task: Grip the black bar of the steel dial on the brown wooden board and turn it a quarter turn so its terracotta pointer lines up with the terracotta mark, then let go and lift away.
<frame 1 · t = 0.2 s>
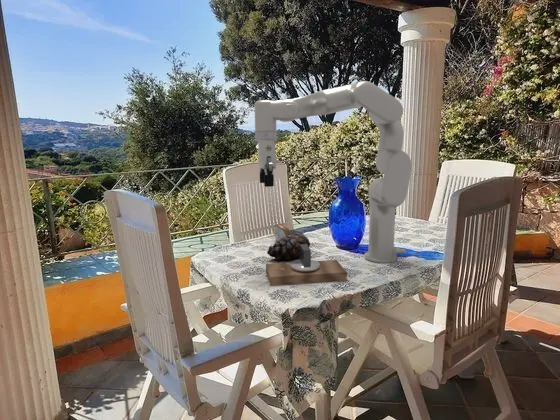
hand: (266, 184, 146), 31 cm above the table, tool pointing down, fingers open, 9 cm apart
brown wooden board: (305, 276, 141), on the table
pine cone: (289, 259, 160), on the table
dial knob: (304, 256, 141), point 7 cm above the table, hinge at -90.0°
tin: (282, 244, 180), on the table
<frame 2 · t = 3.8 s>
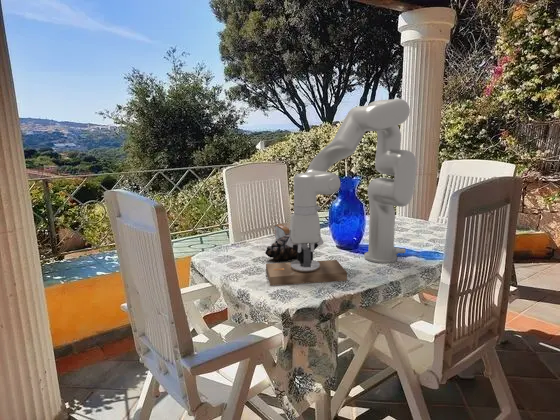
hand: (305, 261, 140), 5 cm above the table, tool pointing down, fingers closed on dial knob, 2 cm apart
dial knob: (304, 256, 141), point 7 cm above the table, hinge at -90.0°, touching gripper
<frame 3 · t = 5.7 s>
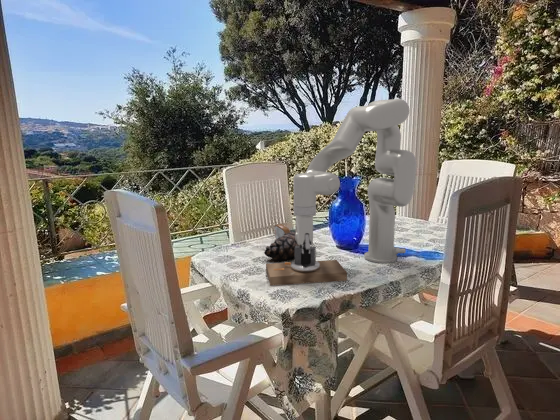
hand: (304, 261, 140), 5 cm above the table, tool pointing down, fingers closed on dial knob, 3 cm apart
dial knob: (302, 257, 140), point 7 cm above the table, hinge at -20.7°, touching gripper
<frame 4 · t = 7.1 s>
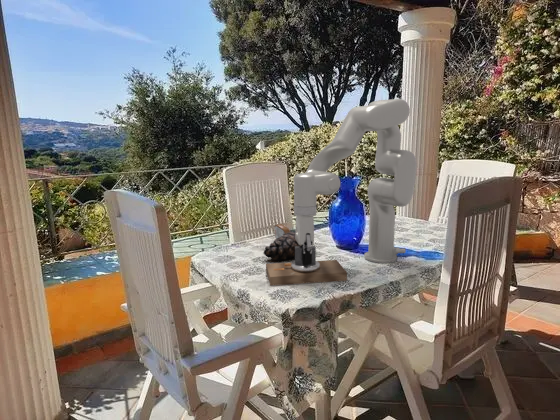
hand: (305, 260, 140), 6 cm above the table, tool pointing down, fingers open, 6 cm apart
dial knob: (302, 257, 140), point 7 cm above the table, hinge at -7.9°
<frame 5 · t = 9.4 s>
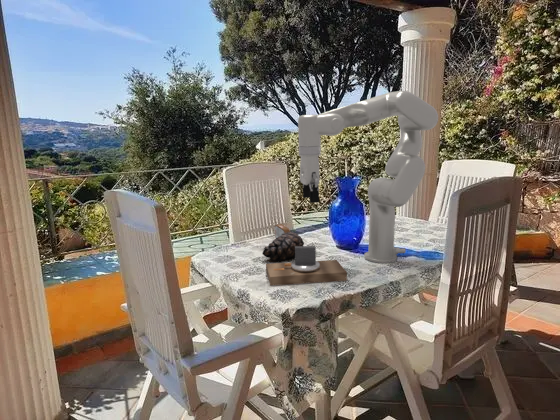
hand: (310, 200, 143), 26 cm above the table, tool pointing down, fingers open, 9 cm apart
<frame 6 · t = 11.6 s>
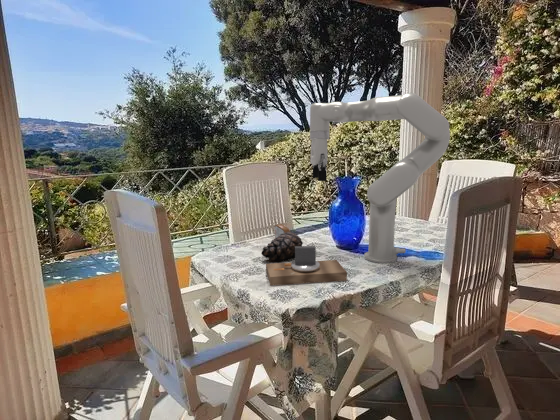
hand: (319, 179, 161), 30 cm above the table, tool pointing down, fingers open, 9 cm apart
at the end: dial knob at -8° (first picture: -90°); the gripper is holding nothing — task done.
